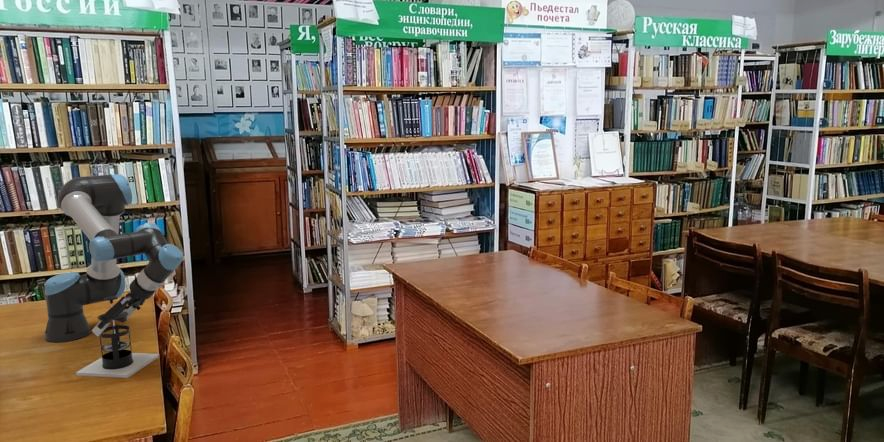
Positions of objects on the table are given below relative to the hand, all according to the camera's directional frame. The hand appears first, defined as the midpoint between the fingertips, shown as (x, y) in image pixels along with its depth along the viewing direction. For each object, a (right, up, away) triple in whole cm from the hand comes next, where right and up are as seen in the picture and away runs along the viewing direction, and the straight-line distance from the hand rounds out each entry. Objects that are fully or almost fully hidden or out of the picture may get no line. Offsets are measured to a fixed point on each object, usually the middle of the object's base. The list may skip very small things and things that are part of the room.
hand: (108, 326), depth 217 cm
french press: (+2, -13, +1) cm, 13 cm away
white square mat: (+2, -14, +2) cm, 14 cm away
